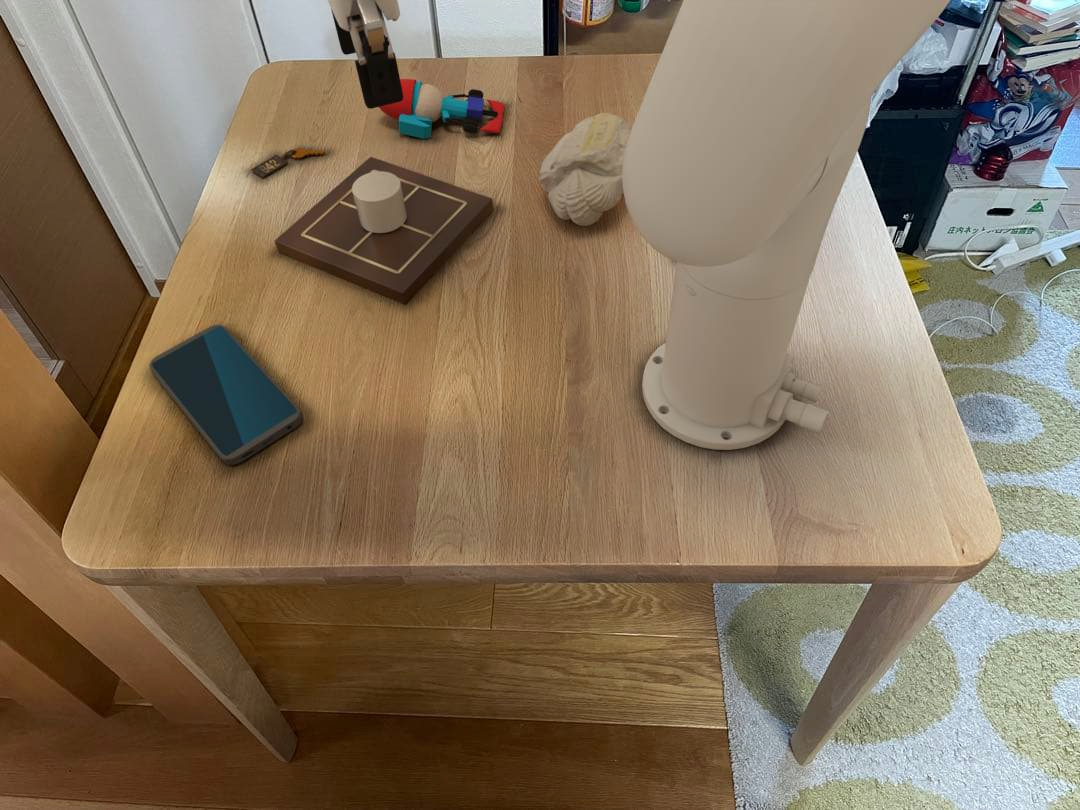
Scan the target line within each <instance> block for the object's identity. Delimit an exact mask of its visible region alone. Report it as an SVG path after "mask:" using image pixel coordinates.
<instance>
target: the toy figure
mask: <svg viewBox="0 0 1080 810" xmlns="http://www.w3.org/2000/svg"><path fill="white" fill-rule="evenodd" d="M400 81H401V87H402V92H403V100H402V101H401V102H397V103H393V104H389V105H385V106H380V107H378V108H379V109H380V110H381V111H382V112H383V113H384V114H385V115H386V116H388V117H390V118H392V119H394V120H396V121H398V132H399V134H401V135H402V134H403V135H406V136H411V137H415V138H419V139H423V140H425V139H426V140H427V139H431V136H432V135H431V134H432V130H433V129H432V127H433V126H432V124H433V123H434V122H436V121H438V120H439V119H440V117H441V118H442V121H443V123H451V124H454V125H457V126H462V130H463V131H464V132H467V133H471V134H477V133H478V132H479V130H480V131H482V132H485V133H486V132H487V133H491V134H499V133H500V131H501V129H502V124H503V116H504V112H505V106H506V105H505V104H504V103H503V102H501V101H497V100H492V99H487V98H486V99H484V92H483V91H482V90H481V89H476V88H472V89H469V91H468V92H467V94H465V93H462V94H461V93H460V94H448V95H446V97H444V95H443V93H442V92H441V90H440V89H438V87H436V86H435V85H433V84H429V83H423V80H422V81H421V80H418V81H417V79H414V78H400ZM458 98H467V99H466V100H465V99H458ZM485 101H486V102H487V103H488V104H489V106H490V108H491V109H492V110H490V109H484V105H485V104H484V102H485ZM483 116H485V117H486V116H487V117H493V119H492V120H491V121H490V122H488V123H487V124H486V125H484V126H483V127H481V128H479V127H480V124H481V122H482V120H483V119H482V118H483ZM459 120H463V122H461V121H459Z"/></svg>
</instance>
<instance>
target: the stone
mask: <svg viewBox="0 0 1080 810" xmlns="http://www.w3.org/2000/svg"><path fill="white" fill-rule="evenodd" d="M352 193H353V197H354V200H355V204H356V208H357V212H358V216H359V220H360V224H361V225H362V227H363V228H364V229H366V230H367V231H370V232H373V233H387V232H391V231H393V230H396V229H397V228H399V227H400V226H402V225H403V224H404V222H405V220H406V218H407V213H406V208H405V203H404V198H403V193H402V188H401V183H400V180H399V178H398V177H397V176H395V175H394V174H392V173H389V172H383V171H377V172H371V173H367V174H365V175H363V176H361V177H359V178H358V179H357V180H356V181H355V182H354V184H353V186H352Z"/></svg>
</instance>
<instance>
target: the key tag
mask: <svg viewBox="0 0 1080 810" xmlns="http://www.w3.org/2000/svg"><path fill="white" fill-rule="evenodd" d="M324 154H326V151H325V150H309V149H305V148H303V147H296V148H293V149H290V150H288V151H286V152H284V154H283V155H281V156H280V155H278V154H275V155H273V156H271V157H269V158H268V159H266V160H265V161H262V162H261V163H259V164H258V165H255V166H254V167H252V168H251V169H250V171H251V172H252V173H254V174H256V175H257V176H259V177H260V178H263V179H264V178H265V177H267V176H268V175H270V174H272V173H274V172H275V171H277V170H279V169H281V168H282V167H284V166H286V165H287V164H289V161H288V160H286V159H288V158H289V157H292V158H294V159H302V158H304V157H305V156H306V157H309V155H311V156H314V155H315V156H318V155H321V156H322V155H324Z"/></svg>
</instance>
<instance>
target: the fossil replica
mask: <svg viewBox="0 0 1080 810" xmlns="http://www.w3.org/2000/svg"><path fill="white" fill-rule="evenodd" d="M631 129H632V126H631V124H630V123H628V121H626V120H624V119H623V118H622V117H619V116H618V115H614V114H612V113H610V112H600V113H598V114H596V115H594V116H593V115H592V116H589V117H587V118H584V119H583V120H581V121H579V122H578V123H577V124H576V125H575V126H574V127H573V129H572V130H571V131H570V132H568V133H565V134H564V135H563V136H562V138H560V139H559V140H558V141H557V142H556V145H555V146H554V147H553V148H552V150H551V151H549V153H548V154H547V155H546V156H545V157H544V159H543V161H542V162H541V163H540V169H539V170H540V171H539V179H538V182H539V183H540V185H542V188H543V189H544V191H546V192H547V193H548V195H547V199H548V201H549V203H550V205H551V206H552V209H553V210H554V213H555V214H556V215H557V217H558V218H559V219H562V220H564V221H570V220H571V221H572V222H573V223H574V224H576V225H578V226H586V227H587V226H588V227H589V226H591V225H592V224H594V223H597V222H599V219H600V217H603V214H604V212H607V211H609V210H611V209H612V208H613V207H615V206H616V205H617V204H618V202H619V201H620V200H621V199H622V195H624V192H623V183H622V167H623V158H624V153H625V149H626V145H627V141H628V138H629V135H630V132H631Z"/></svg>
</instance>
